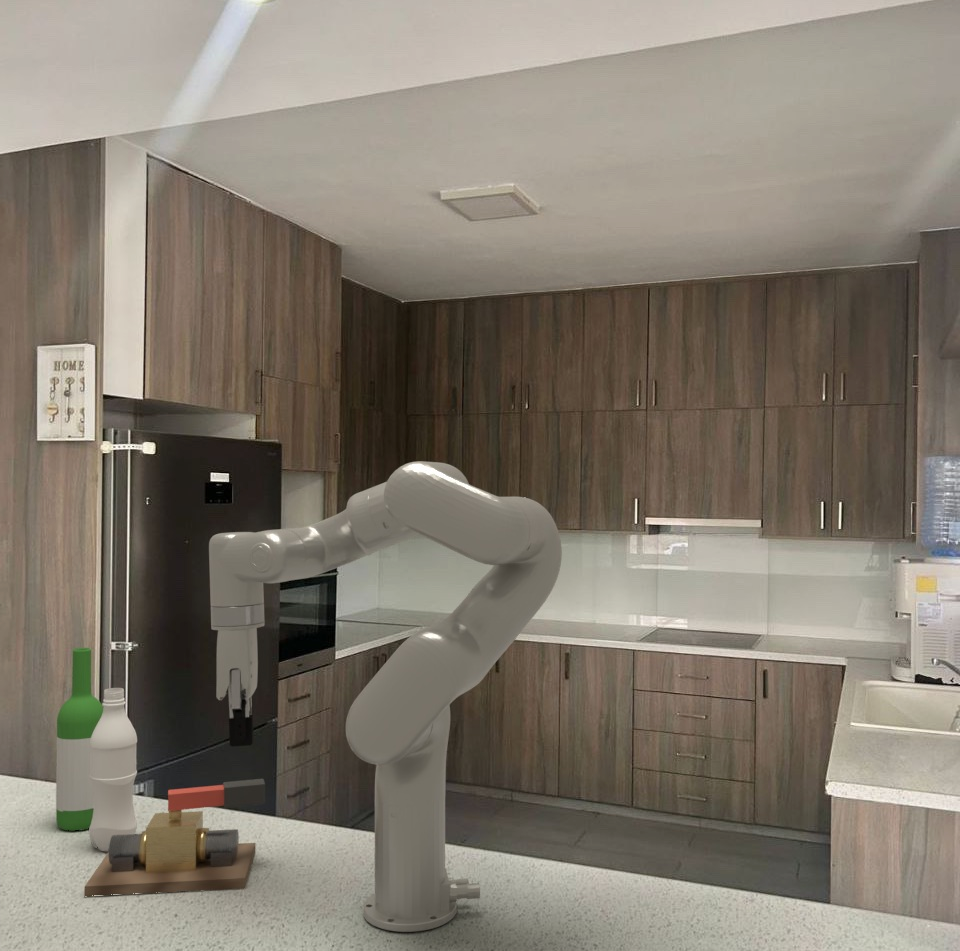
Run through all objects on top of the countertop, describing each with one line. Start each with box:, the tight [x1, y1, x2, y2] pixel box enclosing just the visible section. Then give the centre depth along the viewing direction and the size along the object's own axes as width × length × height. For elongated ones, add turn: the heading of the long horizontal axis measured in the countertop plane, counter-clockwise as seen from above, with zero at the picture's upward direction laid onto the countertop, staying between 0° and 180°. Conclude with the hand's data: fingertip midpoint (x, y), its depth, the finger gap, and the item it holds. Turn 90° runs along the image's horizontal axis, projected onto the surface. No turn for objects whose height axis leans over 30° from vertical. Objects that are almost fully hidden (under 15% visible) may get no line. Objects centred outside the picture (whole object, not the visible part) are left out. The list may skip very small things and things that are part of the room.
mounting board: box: [84, 842, 256, 898], centre depth 142 cm, size 22×14×2 cm, turn 97°
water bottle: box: [88, 687, 138, 852], centre depth 154 cm, size 7×7×25 cm
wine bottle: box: [55, 647, 104, 832], centre depth 163 cm, size 8×8×30 cm
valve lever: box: [167, 778, 266, 819], centre depth 144 cm, size 3×14×4 cm, turn 108°
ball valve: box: [108, 810, 240, 873], centre depth 142 cm, size 18×6×6 cm, turn 97°
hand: (241, 744), depth 138 cm, fingers closed
